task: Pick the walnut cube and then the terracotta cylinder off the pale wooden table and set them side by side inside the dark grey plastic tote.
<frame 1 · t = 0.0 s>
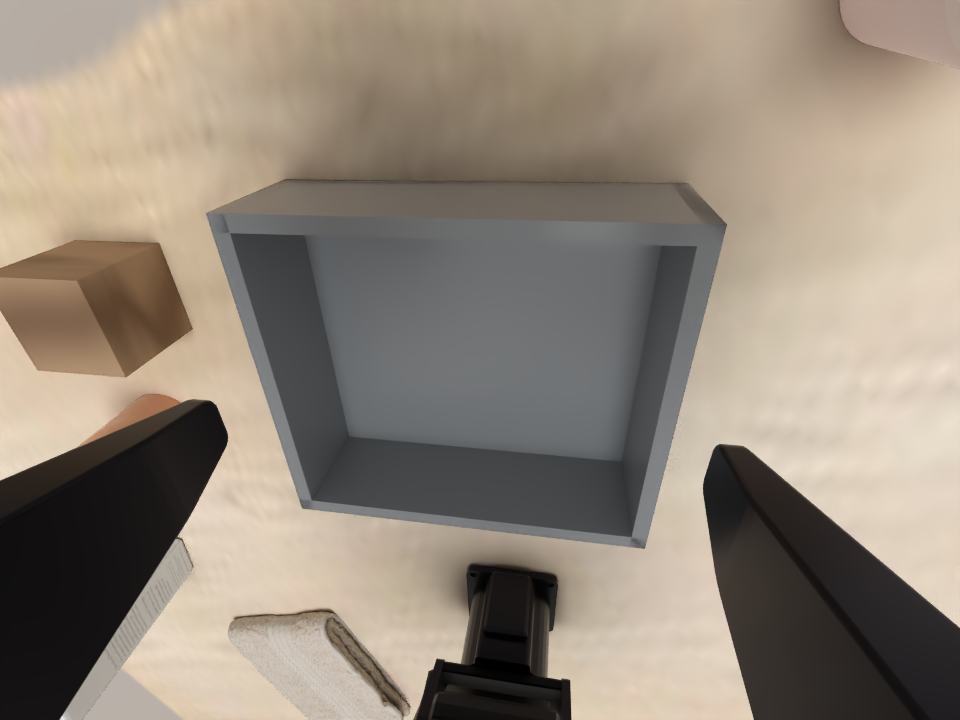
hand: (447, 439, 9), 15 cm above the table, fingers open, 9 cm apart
cube: (137, 285, 26), on the table
skincare box: (159, 543, 40), on the table
tote: (478, 338, 24), on the table
cylinder: (170, 424, 32), on the table
washcloth: (330, 656, 48), on the table
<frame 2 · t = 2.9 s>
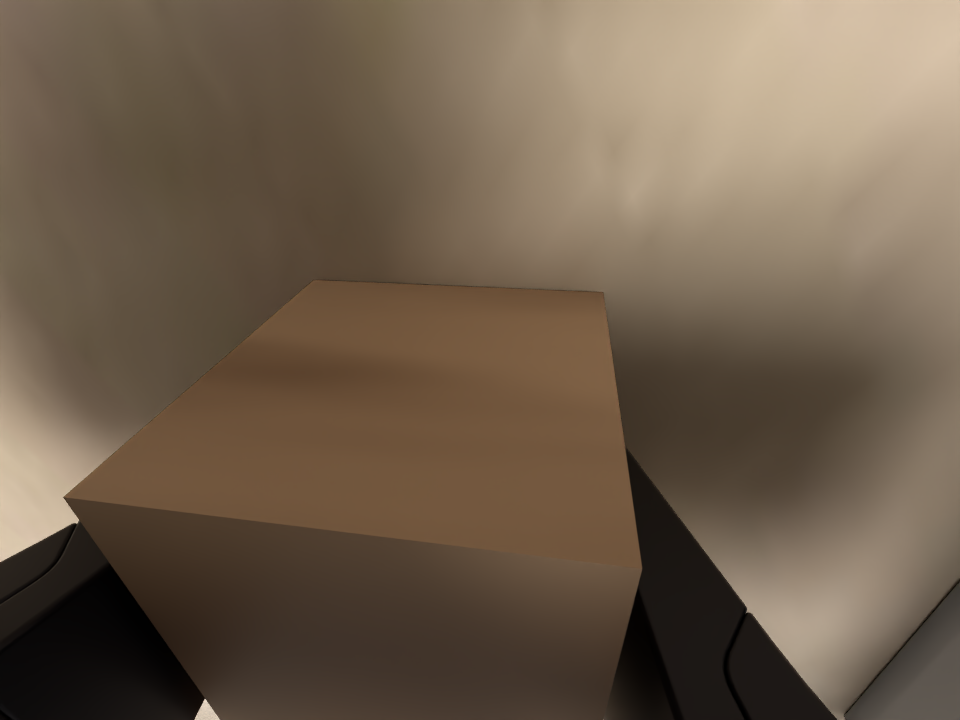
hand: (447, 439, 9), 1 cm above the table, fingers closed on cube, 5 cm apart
cube: (458, 403, 9), on the table, touching gripper
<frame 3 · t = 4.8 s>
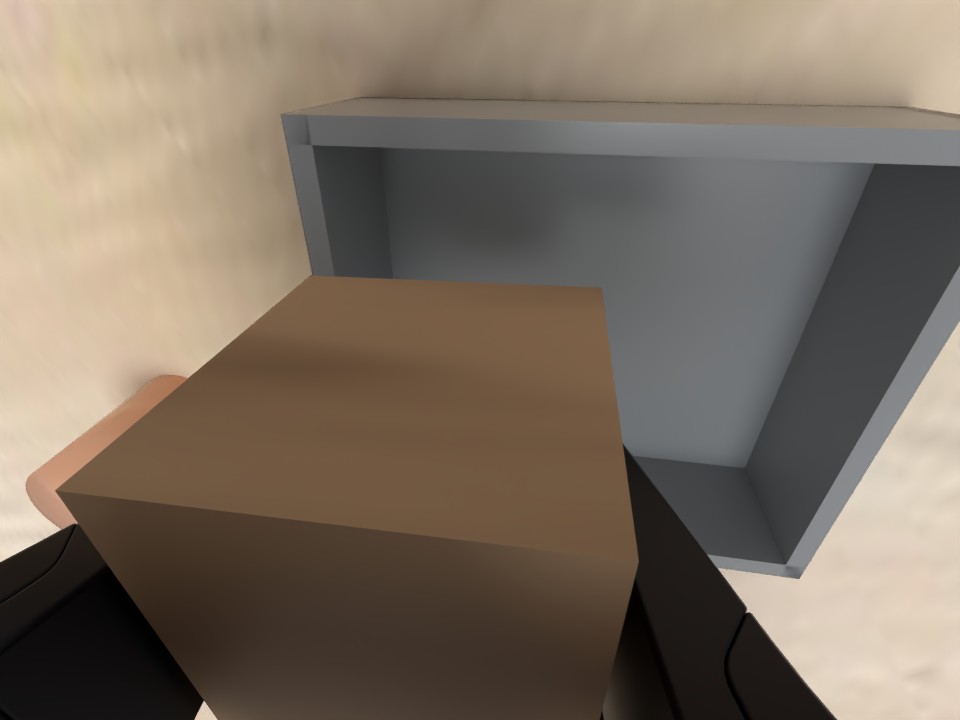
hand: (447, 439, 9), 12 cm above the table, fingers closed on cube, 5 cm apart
cube: (456, 400, 9), point 11 cm above the table, touching gripper
tote: (587, 313, 20), on the table
cylinder: (188, 411, 27), on the table
when the fingers open (4 cm above the table, at t = 6.9 s): cube drops 3 cm, resting on tote.
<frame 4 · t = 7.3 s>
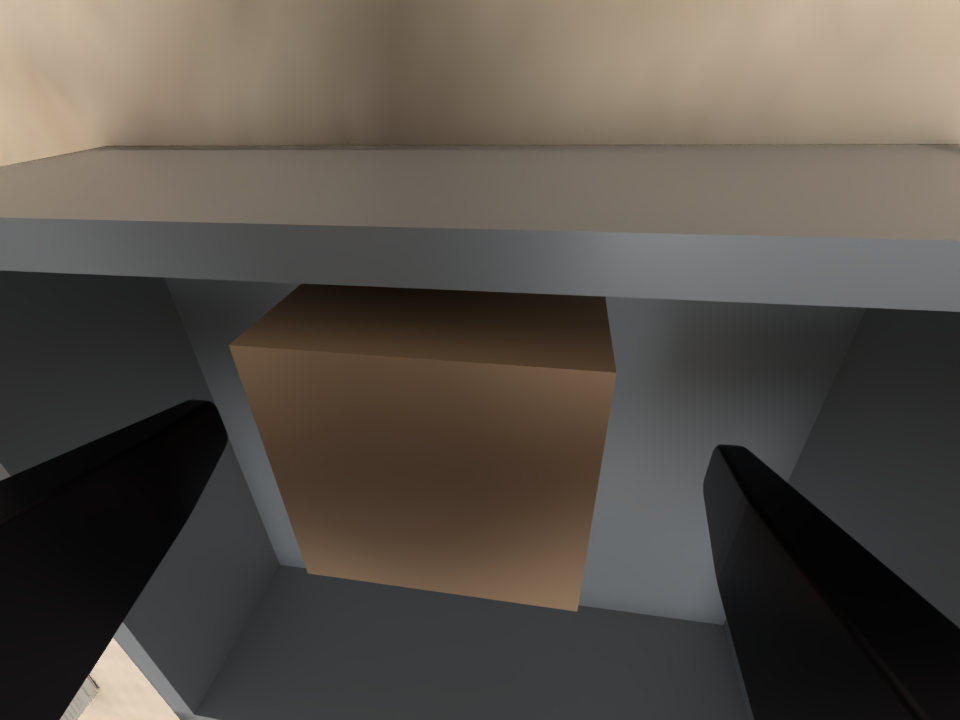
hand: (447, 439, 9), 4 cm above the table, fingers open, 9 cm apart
cube: (478, 336, 11), point 1 cm above the table, touching tote
skincare box: (50, 660, 30), on the table
tote: (485, 432, 14), on the table
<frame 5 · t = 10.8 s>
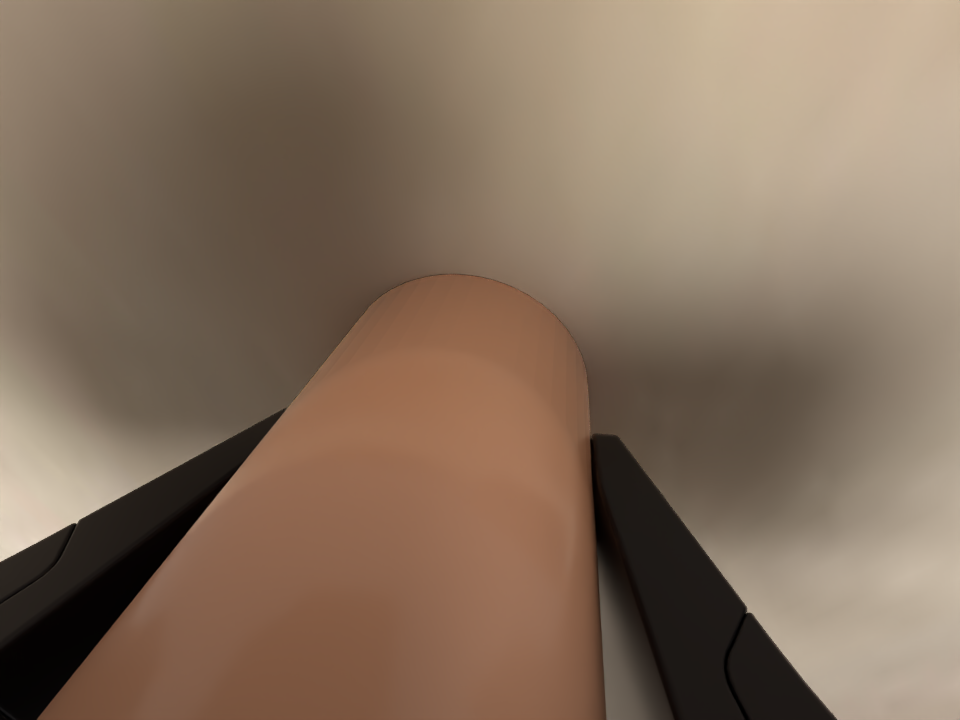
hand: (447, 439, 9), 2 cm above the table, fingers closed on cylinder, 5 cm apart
cylinder: (463, 388, 10), on the table, touching gripper
when the fingers open (5 cm above the table, at t = 15.0 s): cylinder drops 2 cm, resting on tote.
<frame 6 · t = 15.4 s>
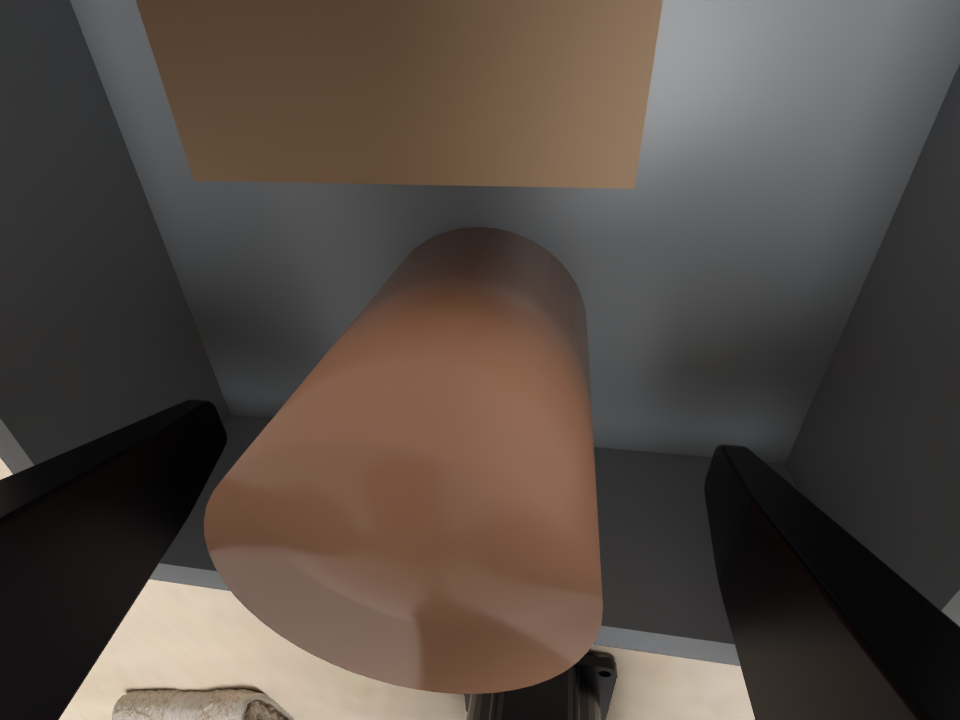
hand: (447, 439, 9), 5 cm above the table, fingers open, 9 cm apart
tote: (482, 177, 10), on the table
cylinder: (483, 327, 12), point 1 cm above the table, touching tote
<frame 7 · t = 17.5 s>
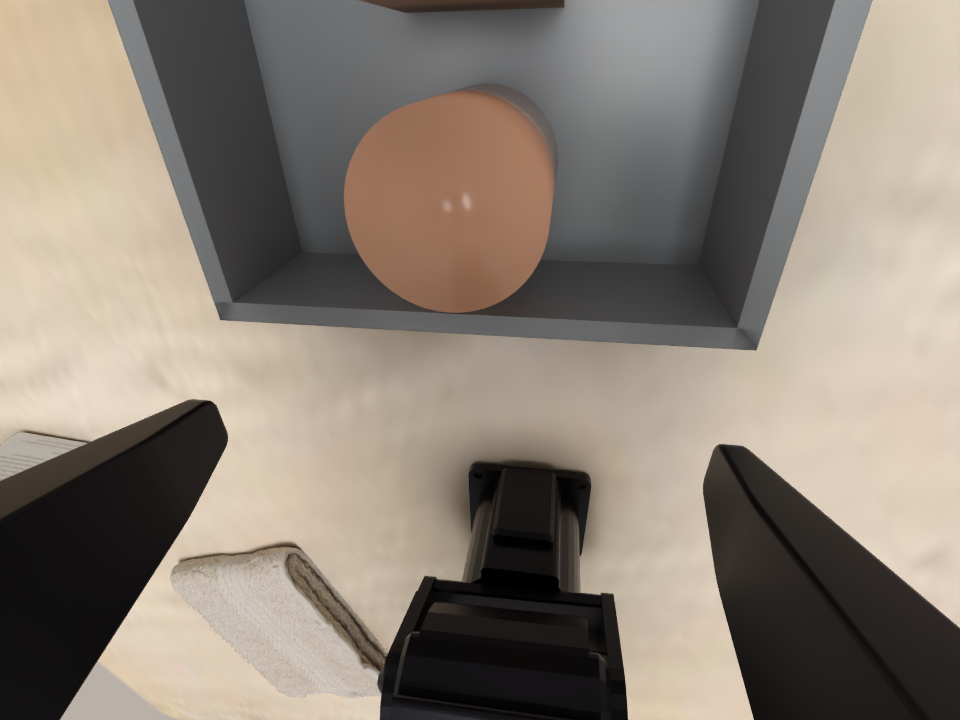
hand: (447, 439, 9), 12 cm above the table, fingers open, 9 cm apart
skincare box: (78, 455, 32), on the table
tote: (487, 50, 16), on the table
cylinder: (487, 163, 17), point 1 cm above the table, touching tote
washcloth: (300, 611, 39), on the table
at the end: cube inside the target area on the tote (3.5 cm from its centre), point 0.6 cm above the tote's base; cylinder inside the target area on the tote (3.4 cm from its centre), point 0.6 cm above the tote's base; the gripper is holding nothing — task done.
